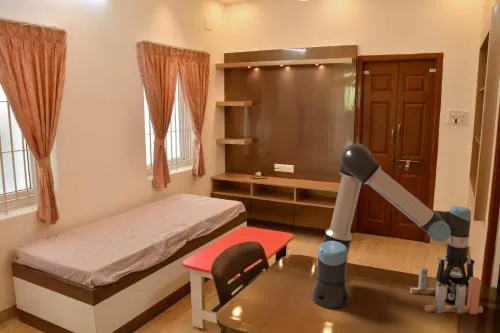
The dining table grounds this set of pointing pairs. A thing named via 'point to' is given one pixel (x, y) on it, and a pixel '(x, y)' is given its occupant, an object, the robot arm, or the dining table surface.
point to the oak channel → (432, 307)
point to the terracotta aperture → (472, 293)
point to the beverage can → (453, 286)
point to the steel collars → (443, 292)
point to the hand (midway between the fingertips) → (452, 298)
